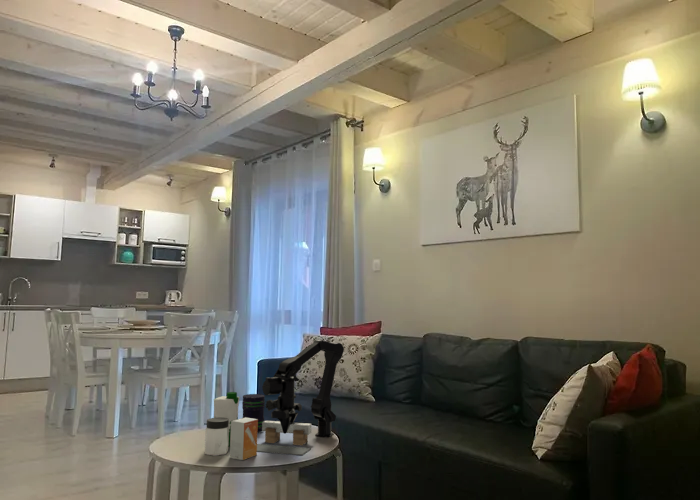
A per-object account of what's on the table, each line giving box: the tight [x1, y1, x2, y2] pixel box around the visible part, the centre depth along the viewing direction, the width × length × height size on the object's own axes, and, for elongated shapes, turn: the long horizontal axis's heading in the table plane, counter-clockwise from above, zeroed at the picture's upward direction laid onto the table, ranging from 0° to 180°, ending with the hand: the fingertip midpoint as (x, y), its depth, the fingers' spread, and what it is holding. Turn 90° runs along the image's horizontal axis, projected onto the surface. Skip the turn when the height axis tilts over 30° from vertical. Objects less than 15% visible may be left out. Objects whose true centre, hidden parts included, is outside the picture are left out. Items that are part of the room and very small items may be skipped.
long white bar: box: [262, 420, 312, 436], centre depth 214 cm, size 4×20×4 cm, turn 75°
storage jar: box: [241, 393, 266, 433], centre depth 234 cm, size 10×10×15 cm
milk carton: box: [213, 391, 240, 448], centre depth 210 cm, size 9×9×20 cm
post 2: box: [292, 430, 309, 446], centre depth 212 cm, size 6×4×6 cm
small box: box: [229, 417, 258, 461], centre depth 193 cm, size 8×6×13 cm
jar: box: [204, 417, 229, 457], centre depth 197 cm, size 9×8×12 cm
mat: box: [257, 443, 312, 456], centre depth 201 cm, size 9×24×1 cm, turn 75°
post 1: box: [264, 428, 281, 444], centre depth 215 cm, size 6×4×6 cm
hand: (286, 432), depth 213 cm, fingers closed on long white bar, 3 cm apart
